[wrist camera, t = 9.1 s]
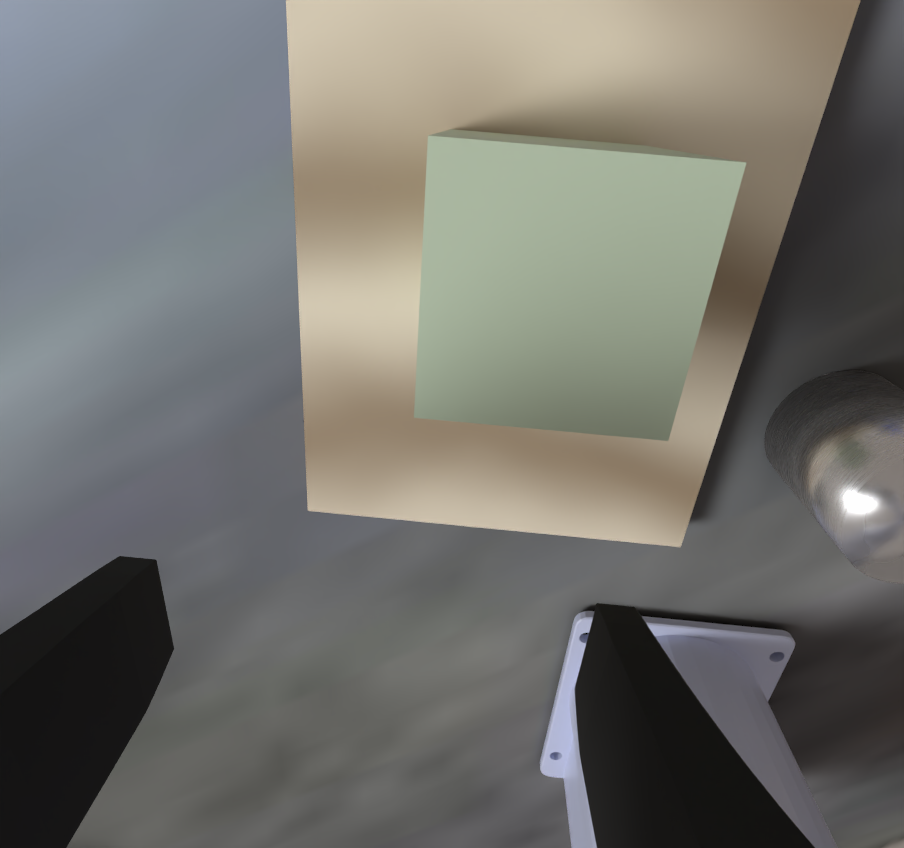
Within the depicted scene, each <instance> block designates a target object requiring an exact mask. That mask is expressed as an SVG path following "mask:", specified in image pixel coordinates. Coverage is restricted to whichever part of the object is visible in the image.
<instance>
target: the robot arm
mask: <svg viewBox="0 0 904 848" xmlns="http://www.w3.org/2000/svg"><path fill="white" fill-rule="evenodd" d="M583 633H589V634H587V635H583ZM794 648H795V641H794V639H793V638H792V636H791V634H790V633H788V632H787V631H784V630H777V629H767V628H757V627H747V626H737V625H727V624H717V623H707V622H696V621H686V620H676V619H666V618H656V617H646V616H641V615H640V613H639V612H638V611H637V610H636V608H635V607H629V606H618V605H608V604H598V603H597V604H596V608H595V611H584V612H581V613H579V614H578V615H576V617H575V619H574V622H573V626H572V630H571V634H570V639H569V643H568V647H567V651H566V655H565V659H564V664H563V668H562V672H561V676H560V680H559V684H558V689H557V693H556V697H555V701H554V705H553V709H552V714H551V718H550V722H549V726H548V730H547V735H546V739H545V743H544V747H543V751H542V755H541V760H540V767H541V772H542V773H543V774H544V775H546V776H549V777H558V778H564V785H565V793H566V802H567V811H568V819H569V828H570V837H571V846H572V848H837V846H836V843H835V841H834V839H833V837H832V835H831V833H830V831H829V829H828V827H827V825H826V823H825V820H824V818H823V816H822V814H821V812H820V810H819V808H818V806H817V804H816V802H815V800H814V798H813V795H812V793H811V791H810V789H809V787H808V785H807V783H806V781H805V779H804V777H803V775H802V772H801V770H800V768H799V766H798V764H797V762H796V760H795V758H794V756H793V754H792V752H791V750H790V747H789V745H788V743H787V741H786V739H785V737H784V735H783V733H782V731H781V729H780V727H779V724H778V722H777V720H776V718H775V716H774V714H773V712H772V710H771V708H770V706H769V704H768V701H769V699H770V697H771V695H772V693H773V691H774V689H775V687H776V684H777V682H778V680H779V678H780V676H781V674H782V672H783V670H784V668H785V666H786V664H787V662H788V660H789V658H790V656H791V654H792V652H793V650H794ZM173 650H174V646H173V641H172V636H171V631H170V626H169V621H168V616H167V611H166V606H165V601H164V596H163V591H162V586H161V581H160V576H159V571H158V566H157V561H156V560H153V559H143V558H133V557H123V556H119V557H117V558H116V559H114V560H113V561H111V562H109V563H108V564H106V565H105V566H103V567H101V568H100V569H98V570H97V571H95V572H94V573H92V574H91V575H89V576H88V577H86V578H85V579H83V580H82V581H80V582H79V583H77V584H76V585H74V586H73V587H71V588H70V589H68V590H67V591H65V592H64V593H62V594H61V595H59V596H58V597H56V598H55V599H53V600H52V601H50V602H49V603H47V604H46V605H44V606H43V607H41V608H40V609H39V610H37V611H36V612H34V613H32V614H31V615H29V616H28V617H26V618H25V619H23V620H22V621H20V622H19V623H17V624H16V625H14V626H13V627H11V628H10V629H8V630H7V631H5V632H4V633H2V634H1V635H0V848H66V847H67V845H68V844H69V842H70V840H71V839H72V837H73V835H74V834H75V832H76V830H77V829H78V827H79V825H80V823H81V822H82V820H83V818H84V817H85V815H86V813H87V812H88V810H89V808H90V807H91V805H92V803H93V802H94V800H95V798H96V796H97V795H98V793H99V791H100V790H101V788H102V786H103V785H104V783H105V781H106V780H107V778H108V776H109V775H110V773H111V771H112V769H113V768H114V766H115V764H116V763H117V761H118V759H119V758H120V756H121V754H122V752H123V751H124V749H125V747H126V746H127V744H128V742H129V740H130V739H131V737H132V735H133V734H134V732H135V730H136V728H137V727H138V725H139V723H140V721H141V720H142V718H143V716H144V714H145V713H146V711H147V709H148V707H149V705H150V702H151V700H152V698H153V696H154V694H155V691H156V689H157V687H158V685H159V683H160V680H161V678H162V676H163V673H164V671H165V669H166V666H167V664H168V662H169V659H170V657H171V655H172V652H173ZM774 652H775V653H774Z"/></svg>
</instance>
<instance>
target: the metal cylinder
mask: <svg viewBox="0 0 904 848" xmlns="http://www.w3.org/2000/svg"><path fill="white" fill-rule="evenodd" d="M765 451H766V455H767V458H768V460H769V462H770V464H771V465H772V467H773V468H774V469H775V470H776V471H777V473H778V474H779V475H780V476H781V478H782V479H783V480H784V481H785V483H786V484H787V485H788V486H789V487H790V489H791V490H792V491H793V492H794V494H795V495H796V496H797V497H798V498H799V500H800V501H801V502H802V503H803V505H804V506H805V507H806V508H807V510H808V511H809V512H810V513H811V514H812V516H813V517H814V518H815V519H816V521H817V522H818V523H819V524H820V525H821V527H822V528H823V529H824V530H825V532H826V533H827V534H828V535H829V537H830V538H831V539H832V540H833V541H834V543H835V544H836V545H837V546H838V548H839V549H840V550H841V551H842V552H843V554H844V555H845V556H846V557H847V559H848V560H849V561H850V562H851V563H852V565H853V566H854V567H856V568H857V569H858V570H859V571H861V572H862V573H864V574H866V575H867V576H870V577H872V578H875V579H878V580H881V581H885V582H892V583H904V391H903V390H902V389H900V388H899V387H897V386H896V385H894V384H893V383H891V382H890V381H888V380H887V379H885V378H883V377H881V376H879V375H877V374H874V373H871V372H867V371H860V370H844V371H837V372H832V373H828V374H825V375H822V376H819V377H817V378H814V379H812V380H810V381H808V382H807V383H805V384H803V385H801V386H800V387H798V388H797V389H796V390H794V391H793V392H792V393H791V394H789V395H788V396H787V397H786V398H785V399H784V400H783V401H782V402H781V404H780V405H779V406H778V407H777V409H776V410H775V412H774V413H773V415H772V417H771V419H770V421H769V423H768V426H767V429H766V433H765Z"/></svg>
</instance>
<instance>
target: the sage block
mask: <svg viewBox="0 0 904 848" xmlns="http://www.w3.org/2000/svg"><path fill="white" fill-rule="evenodd" d="M745 166H746V162H740V161H735V160H729V159H723V158H717V157H711V156H705V155H699V154H693V153H687V152H681V151H675V150H669V149H663V148H658V147H652V146H646V145H634V144H622V143H610V142H599V141H587V140H575V139H563V138H551V137H539V136H527V135H516V134H504V133H492V132H480V131H468V130H456V129H450V130H446V131H443V132H439V133H435V134H432V135H428V144H427V164H426V184H425V205H424V225H423V245H422V265H421V285H420V305H419V325H418V345H417V365H416V385H415V405H414V418H422V419H433V420H444V421H455V422H466V423H477V424H488V425H498V426H509V427H520V428H531V429H542V430H553V431H564V432H575V433H586V434H597V435H608V436H619V437H630V438H640V439H651V440H662V441H668V440H669V437H670V433H671V430H672V426H673V422H674V419H675V415H676V412H677V408H678V405H679V401H680V398H681V394H682V390H683V387H684V383H685V380H686V376H687V373H688V369H689V365H690V362H691V358H692V355H693V351H694V348H695V344H696V341H697V337H698V333H699V330H700V326H701V323H702V319H703V316H704V312H705V309H706V305H707V301H708V298H709V294H710V291H711V287H712V284H713V280H714V277H715V273H716V269H717V266H718V262H719V259H720V255H721V252H722V248H723V245H724V241H725V237H726V234H727V230H728V227H729V223H730V220H731V216H732V213H733V209H734V205H735V202H736V198H737V195H738V191H739V188H740V184H741V181H742V177H743V173H744V170H745Z"/></svg>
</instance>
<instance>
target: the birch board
mask: <svg viewBox="0 0 904 848" xmlns="http://www.w3.org/2000/svg"><path fill="white" fill-rule="evenodd" d="M860 1H861V0H286V10H287V33H288V57H289V80H290V104H291V127H292V150H293V174H294V197H295V221H296V244H297V267H298V291H299V314H300V338H301V361H302V384H303V408H304V431H305V454H306V478H307V501H308V511H316V512H326V513H336V514H347V515H357V516H367V517H377V518H388V519H398V520H408V521H418V522H429V523H439V524H449V525H459V526H470V527H480V528H490V529H500V530H511V531H521V532H531V533H541V534H551V535H562V536H572V537H582V538H592V539H603V540H613V541H623V542H633V543H644V544H654V545H664V546H674V547H681V544H682V541H683V538H684V535H685V532H686V529H687V526H688V523H689V520H690V517H691V514H692V511H693V508H694V505H695V502H696V499H697V496H698V493H699V490H700V487H701V484H702V481H703V478H704V475H705V471H706V468H707V465H708V462H709V459H710V456H711V453H712V450H713V447H714V444H715V441H716V438H717V435H718V432H719V429H720V426H721V423H722V420H723V417H724V414H725V411H726V408H727V405H728V402H729V399H730V396H731V393H732V389H733V386H734V383H735V380H736V377H737V374H738V371H739V368H740V365H741V362H742V359H743V356H744V353H745V350H746V347H747V344H748V341H749V338H750V335H751V332H752V329H753V326H754V323H755V320H756V317H757V314H758V310H759V307H760V304H761V301H762V298H763V295H764V292H765V289H766V286H767V283H768V280H769V277H770V274H771V271H772V268H773V265H774V262H775V259H776V256H777V253H778V250H779V247H780V244H781V241H782V238H783V235H784V231H785V228H786V225H787V222H788V219H789V216H790V213H791V210H792V207H793V204H794V201H795V198H796V195H797V192H798V189H799V186H800V183H801V180H802V177H803V174H804V171H805V168H806V165H807V162H808V159H809V156H810V153H811V149H812V146H813V143H814V140H815V137H816V134H817V131H818V128H819V125H820V122H821V119H822V116H823V113H824V110H825V107H826V104H827V101H828V98H829V95H830V92H831V89H832V86H833V83H834V80H835V77H836V74H837V70H838V67H839V64H840V61H841V58H842V55H843V52H844V49H845V46H846V43H847V40H848V37H849V34H850V31H851V28H852V25H853V22H854V19H855V16H856V13H857V10H858V7H859V4H860ZM450 129H456V130H468V131H480V132H492V133H504V134H516V135H527V136H539V137H551V138H563V139H575V140H587V141H599V142H610V143H622V144H634V145H646V146H652V147H658V148H663V149H669V150H675V151H681V152H687V153H693V154H699V155H705V156H711V157H717V158H723V159H729V160H735V161H740V162H746V166H745V170H744V173H743V177H742V181H741V184H740V188H739V191H738V195H737V198H736V202H735V205H734V209H733V213H732V216H731V220H730V223H729V227H728V230H727V234H726V237H725V241H724V245H723V248H722V252H721V255H720V259H719V262H718V266H717V269H716V273H715V277H714V280H713V284H712V287H711V291H710V294H709V298H708V301H707V305H706V309H705V312H704V316H703V319H702V323H701V326H700V330H699V333H698V337H697V341H696V344H695V348H694V351H693V355H692V358H691V362H690V365H689V369H688V373H687V376H686V380H685V383H684V387H683V390H682V394H681V398H680V401H679V405H678V408H677V412H676V415H675V419H674V422H673V426H672V430H671V433H670V437H669V440H668V441H662V440H651V439H640V438H630V437H619V436H608V435H597V434H586V433H575V432H564V431H553V430H542V429H531V428H520V427H509V426H498V425H488V424H477V423H466V422H455V421H444V420H433V419H422V418H414V405H415V385H416V365H417V345H418V325H419V305H420V285H421V265H422V245H423V225H424V205H425V184H426V164H427V144H428V135H432V134H435V133H439V132H443V131H446V130H450Z"/></svg>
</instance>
